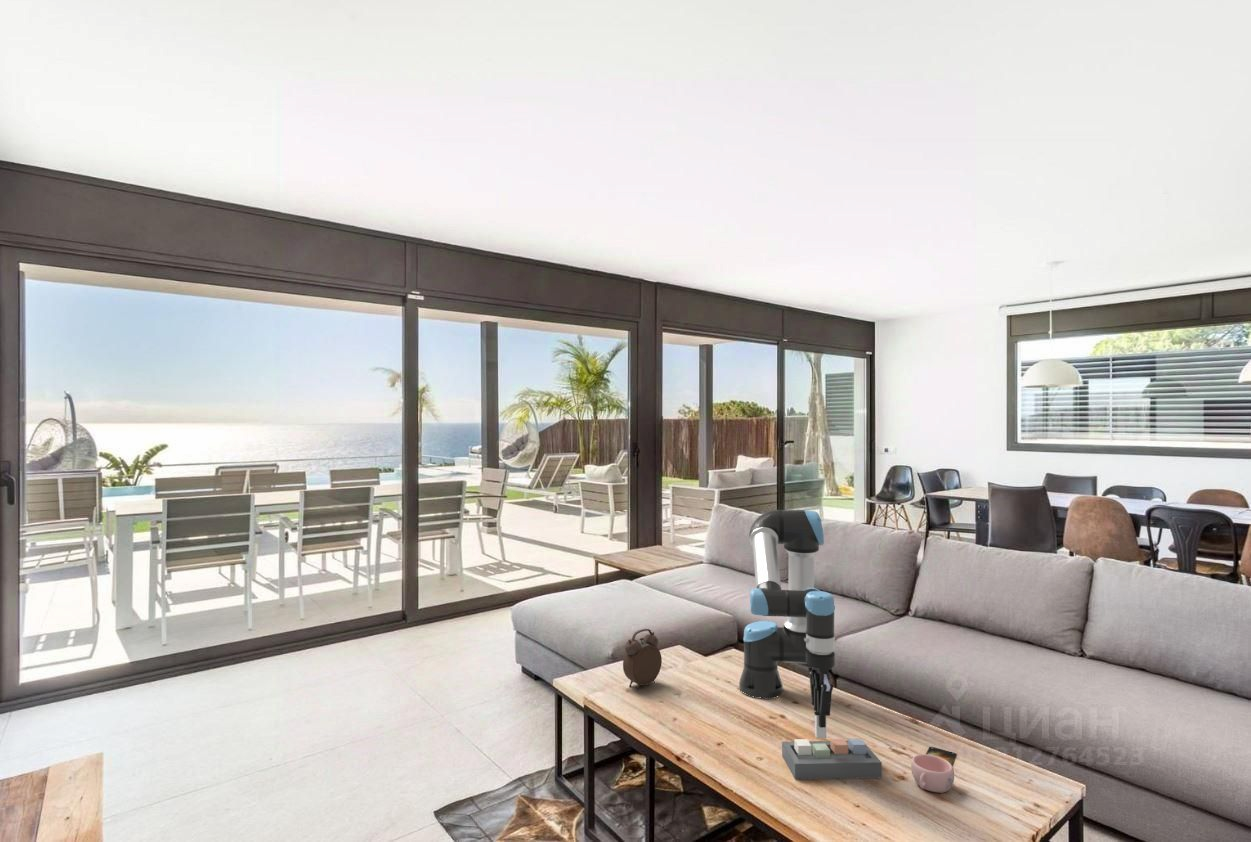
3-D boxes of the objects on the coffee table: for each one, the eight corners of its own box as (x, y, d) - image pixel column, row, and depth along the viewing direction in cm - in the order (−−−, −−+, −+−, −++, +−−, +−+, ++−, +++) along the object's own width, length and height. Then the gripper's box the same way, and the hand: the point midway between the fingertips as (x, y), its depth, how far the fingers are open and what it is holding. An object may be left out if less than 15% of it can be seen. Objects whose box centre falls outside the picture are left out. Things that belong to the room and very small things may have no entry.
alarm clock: (649, 677, 234) (649, 623, 235) (663, 683, 229) (663, 627, 229) (619, 687, 225) (619, 631, 225) (632, 693, 219) (632, 635, 220)
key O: (794, 748, 172) (794, 739, 172) (807, 748, 172) (807, 739, 172) (798, 754, 168) (798, 745, 168) (811, 754, 168) (811, 745, 168)
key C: (812, 752, 172) (812, 743, 172) (825, 752, 172) (825, 743, 172) (816, 759, 168) (816, 750, 168) (830, 759, 169) (829, 749, 169)
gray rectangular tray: (782, 756, 176) (782, 741, 176) (862, 754, 177) (862, 740, 177) (795, 779, 164) (794, 763, 164) (881, 777, 165) (881, 762, 165)
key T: (830, 747, 172) (830, 738, 172) (843, 747, 172) (843, 738, 172) (835, 754, 169) (835, 745, 169) (848, 754, 169) (848, 744, 169)
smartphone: (957, 753, 177) (948, 775, 165) (957, 755, 177) (948, 778, 165) (929, 745, 181) (918, 767, 169) (929, 748, 181) (918, 769, 169)
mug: (921, 771, 168) (921, 749, 168) (960, 787, 160) (960, 763, 160) (900, 788, 160) (900, 765, 160) (941, 805, 152) (941, 780, 152)
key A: (848, 747, 172) (848, 738, 172) (861, 747, 173) (861, 738, 173) (853, 753, 169) (853, 744, 169) (866, 753, 169) (866, 744, 169)
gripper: (799, 642, 178) (799, 725, 177) (814, 659, 164) (815, 749, 164) (825, 641, 178) (825, 725, 178) (842, 658, 165) (843, 748, 165)
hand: (820, 736), depth 171 cm, fingers closed
